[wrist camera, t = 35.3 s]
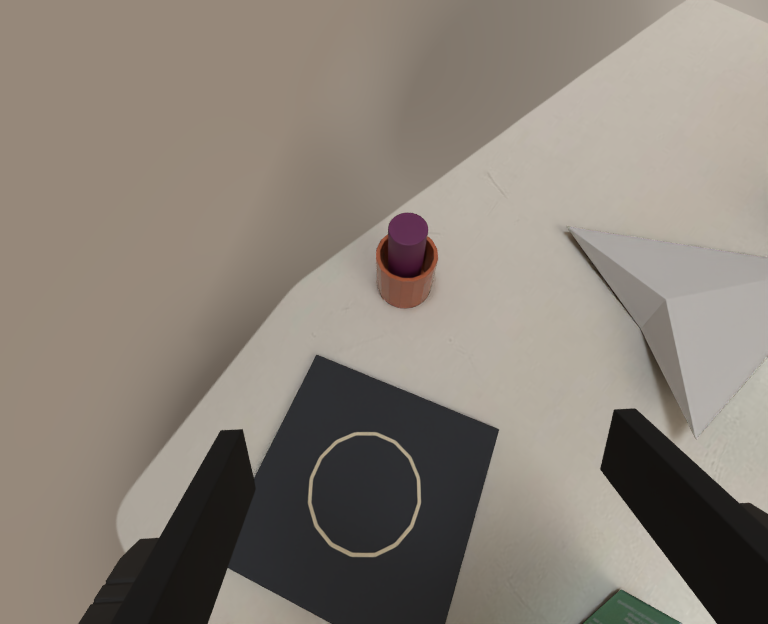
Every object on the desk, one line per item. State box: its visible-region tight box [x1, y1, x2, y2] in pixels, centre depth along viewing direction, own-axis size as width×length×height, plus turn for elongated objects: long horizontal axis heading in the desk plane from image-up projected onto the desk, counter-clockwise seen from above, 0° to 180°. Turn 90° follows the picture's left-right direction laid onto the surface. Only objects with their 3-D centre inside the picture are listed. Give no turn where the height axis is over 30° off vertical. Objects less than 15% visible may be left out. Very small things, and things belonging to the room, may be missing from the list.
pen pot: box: [376, 235, 438, 308], centre depth 40 cm, size 6×6×6 cm
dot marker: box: [388, 213, 428, 278], centre depth 38 cm, size 4×4×10 cm
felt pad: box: [228, 355, 499, 624], centre depth 34 cm, size 20×20×1 cm
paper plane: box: [567, 226, 768, 439], centre depth 40 cm, size 26×28×4 cm
